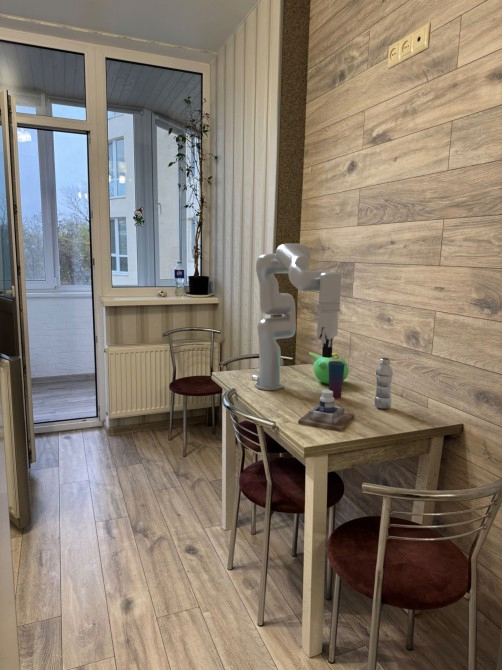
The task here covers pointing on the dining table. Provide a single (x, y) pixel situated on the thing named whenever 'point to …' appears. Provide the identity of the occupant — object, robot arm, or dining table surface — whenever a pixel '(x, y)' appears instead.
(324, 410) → the pill bottle
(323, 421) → the square frame tray
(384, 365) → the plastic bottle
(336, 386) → the cup
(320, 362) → the green round vessel
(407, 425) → the dining table surface
